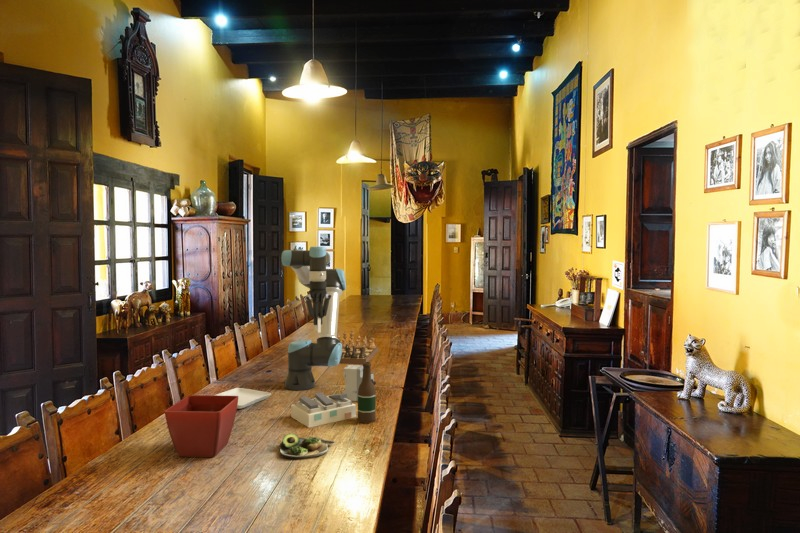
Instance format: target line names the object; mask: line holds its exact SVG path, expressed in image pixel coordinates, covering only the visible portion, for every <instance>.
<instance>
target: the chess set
mask: <svg viewBox="0 0 800 533" xmlns="http://www.w3.org/2000/svg"><path fill="white" fill-rule="evenodd" d="M342 335H343V336H342V339H341V336H340V334H339V333H337V338H338V339H339V343H341V344H342V354H341V359H340V362H339V364H344V365H363V363H364V362H370V361H371V360H372V359H373V357H375V355H376V354H377V353H378V352H379V345H376V344H375V337H370V339H369V340H367V336H364V339H362V340H361V338H362V337H361V336H360V334H357V336H356V339H355V336H354V335H355V332H354V330H353V329H351V330H350V332H349V339H348V341H347V338H348V336H347V335H348V333H347V332H343V333H342ZM354 339H355V341H354ZM339 364H338V365H339Z"/></svg>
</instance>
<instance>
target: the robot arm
mask: <svg viewBox="0 0 800 533" xmlns="http://www.w3.org/2000/svg"><path fill="white" fill-rule="evenodd" d="M330 261H331V256H330V253H329V252H328V251H327V247H326V246H310V247H309V249H308V250H307V249H306V250H304V249H302V250H299V249H297V250H296V249H295V250H294V249H289V250H288V249H287V250H283V251H282V253H281V264H282V266H285V267H290V268H291V269H292V270H293V272H294V273H295V274H296V277H297V281H298V282H299V283H300V284H301V285H302V286H304V287H306V288H308V289H309V292H308V294H307V295H305V296H304V300H305V302H306V307H307V310H308V316H309V317H310V318H313V325H314V332H315V333H319V336H318V337H317V338H316V342H313V341H312V339H307V338H306V339H300V340H295V341H292V342H290V343H288V348H287V349H288V350H287V357H288V358H287V361H288V362H287V364H288V365H287V367H288V368H287V374H286V378H285V380H284V388H285V389H286V390H290V391H304V390H310V389H313V388H315V387H316V381H315V378H314V374H313V371H312V367H328V368H329V367H337V366H338V365H339V362H340V359H341V354H342V344H341V343H339V339H338V338H337V335H338V326H339V324H338V323H339V310H340V296H342V295H343V293H344V291H346V290H347V284H346V283H347V282H346V275H345V271H344V270H343V269H341V268H327V265H328V264H329V263H330Z"/></svg>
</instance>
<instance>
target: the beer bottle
mask: <svg viewBox="0 0 800 533" xmlns="http://www.w3.org/2000/svg"><path fill="white" fill-rule="evenodd" d="M362 365H363V378H362V382H361V384H360V386H359V388H358V401H357V422H359V423H361V424H371V423H374V422H376V402H377V401H376V396H377V395H376V386H375V385H374V384H373V383H372V381H371V374H372V371H371V370H372V368H371V366H372V362H370V361H369V362H364V363H363V364H362Z"/></svg>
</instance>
